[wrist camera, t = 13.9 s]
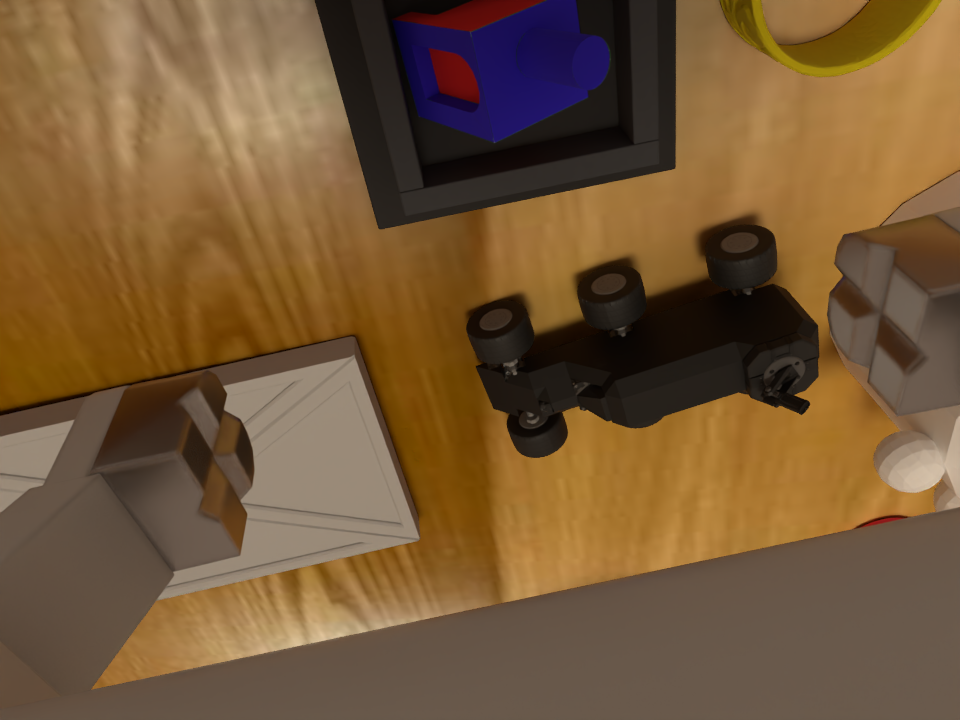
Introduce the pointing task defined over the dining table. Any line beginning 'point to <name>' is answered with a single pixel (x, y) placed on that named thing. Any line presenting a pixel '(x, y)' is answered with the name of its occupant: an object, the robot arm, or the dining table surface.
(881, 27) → the bracelet
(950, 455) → the decorative object
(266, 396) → the envelope
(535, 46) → the toy building block
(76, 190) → the dining table surface
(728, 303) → the toy vehicle
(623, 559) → the dining table surface
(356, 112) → the base pad
